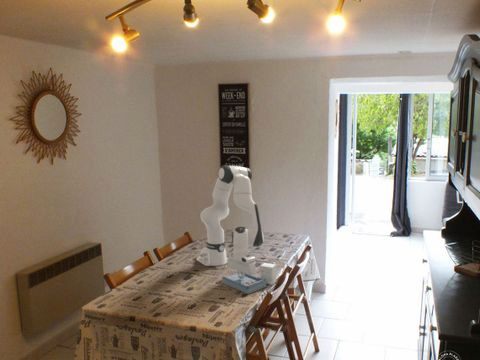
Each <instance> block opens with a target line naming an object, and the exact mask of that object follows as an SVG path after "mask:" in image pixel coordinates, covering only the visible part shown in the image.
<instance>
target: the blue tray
mask: <svg viewBox="0 0 480 360" xmlns="http://www.w3.org/2000/svg"><path fill="white" fill-rule="evenodd" d="M241 275H242V274H241ZM248 281H250V282H251V283H252V284H250V285H248V284H246V283H247V282H248ZM221 282H222V284H224V285H227V286H229V287H231V288H234V289H235V290H237V291H240V292H242V293H245V294H251V293H253V292H256V291H257V292H258V291H259V290H262V289H264V288H266V287H267V284H266V279H260V277H257V276H255V275H251V276H250V275H247V274H245V275H244V279H240V278H238V273H235V274H233V275H229V276H227V277H225V276H222V280H221Z"/></svg>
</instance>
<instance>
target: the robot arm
mask: <svg viewBox="0 0 480 360" xmlns="http://www.w3.org/2000/svg"><path fill="white" fill-rule="evenodd" d="M217 171H218V172H217V179H216V182H215V185H214V187H213V191H212V194H211V195H212V199H213V203H212V205H211V206H207V207H205V208H204V209H203V210H202V211H201V212H200V214H199V215H200V220H201V223H203V224H204V227H205V228H206V232H207V233H206V234H207V235H206V236H207V238H206V239H207V241H205V242H204V243H205V244H204V245H205V247H204V248H202V249H201V250H200V252H199V256H198V257H197V258H196V259H195V260H196V261H197V262H198V263H200V264H202V265H204V266H207V267H209V266H215V267H219V266H223V265H226V264H227V266H228V268H230V269H232V270H234V271H236V274H238V278H240V279H244V275H245V274H247V275H250V276H251V275H252V276H255V275H256V262H255V261H256V257H255V256H254V255H253V254H252V253H251V252H250V251H249V250H250V249H249V247H256V248H260V246H262V245H263V244H264V242H265V241H264V240H265V236H264V233H263V232H264V231H263V230H262V223H261V217H260V213H259V207H258V204H257V202H255V201H254V200H253V196H252V193H253V192H252V191H253V190H252V183H251V180H252V178H253V173H252V170H251V169H250V168H248V167H246V166H244V167H243V166H240V165H221V166H220V167H219V169H218V170H217ZM232 190H233V194H232V195H233V196H232V197H233V199H232V200H233V203H234V205H235V206H236V207H237V208H239V209H241V210H244V211H247V212H248V213H249V214H251V216H252V219H253V225H254V229H248V228H247V227H244V226H238V227H235V228H234V230H233V232H232V233H231V243H232V245H233V251H231V252H229V253H228V256H227V248H226V241H225V230H224V229H223V227H222V226H221V221H222V220H225V219H226V218H227V217H228V216H229V214H230V208H229V199H230V196H231V193H232ZM241 274H242V275H241Z"/></svg>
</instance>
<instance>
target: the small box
mask: <svg viewBox="0 0 480 360" xmlns="http://www.w3.org/2000/svg"><path fill="white" fill-rule="evenodd" d="M259 266H260V267H259V269H260V276H259V278H260V279H266V285H272V286H273V285H274V284H275V283H277V281H278V280H277V264H273V263H270V262H263V263H262V264H260V265H259Z"/></svg>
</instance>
